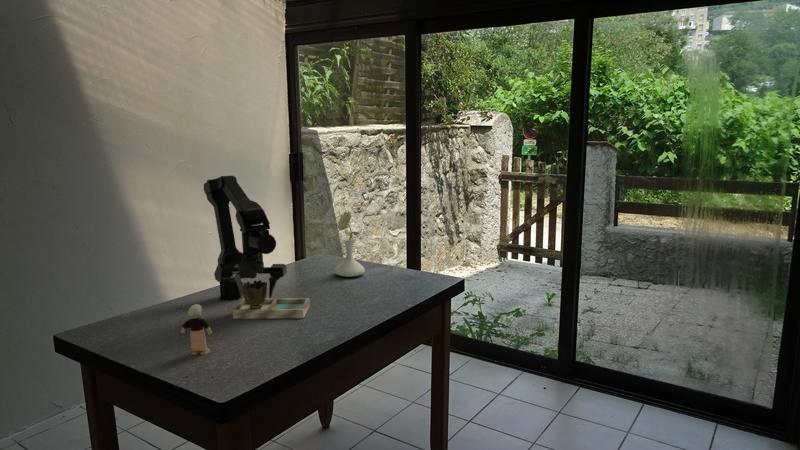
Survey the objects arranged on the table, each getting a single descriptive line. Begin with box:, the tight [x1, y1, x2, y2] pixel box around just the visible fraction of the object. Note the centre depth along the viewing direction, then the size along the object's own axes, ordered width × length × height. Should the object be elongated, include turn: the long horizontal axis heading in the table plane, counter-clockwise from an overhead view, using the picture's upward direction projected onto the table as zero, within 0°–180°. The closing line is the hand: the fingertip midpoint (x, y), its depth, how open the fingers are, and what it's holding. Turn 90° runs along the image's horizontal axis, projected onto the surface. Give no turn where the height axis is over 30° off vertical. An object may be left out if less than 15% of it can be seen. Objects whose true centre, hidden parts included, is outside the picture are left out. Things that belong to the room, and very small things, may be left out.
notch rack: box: [232, 297, 311, 320], centre depth 171 cm, size 21×11×2 cm, turn 90°
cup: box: [242, 279, 268, 310], centre depth 170 cm, size 8×7×8 cm
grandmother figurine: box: [180, 303, 213, 356], centre depth 141 cm, size 8×4×13 cm, turn 98°
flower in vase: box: [334, 210, 366, 278], centre depth 208 cm, size 13×11×25 cm
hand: (255, 298), depth 171 cm, fingers open, 9 cm apart
